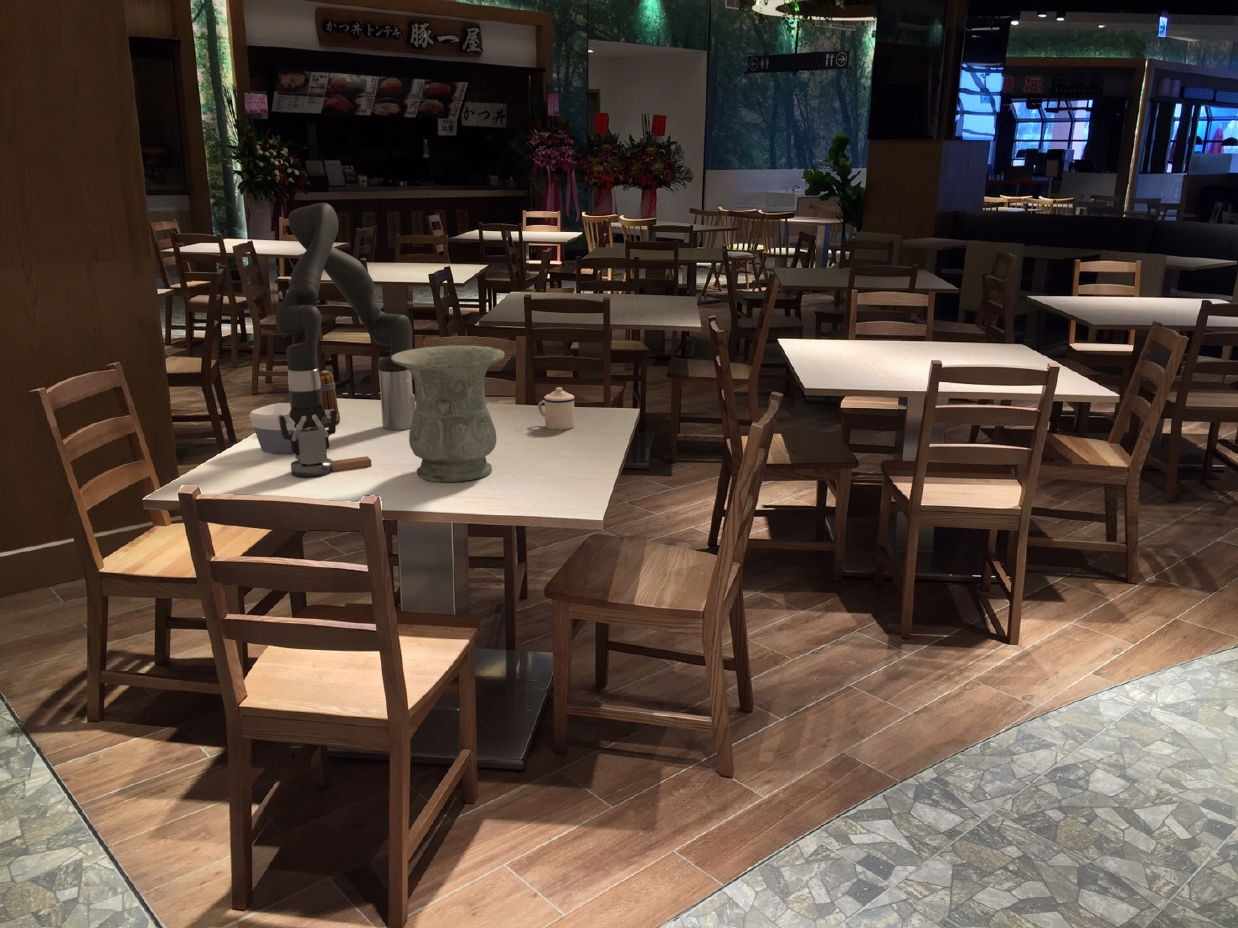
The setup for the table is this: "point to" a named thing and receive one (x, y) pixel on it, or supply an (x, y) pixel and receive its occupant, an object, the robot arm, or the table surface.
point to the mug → (328, 396)
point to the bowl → (272, 428)
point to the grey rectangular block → (311, 445)
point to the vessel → (451, 411)
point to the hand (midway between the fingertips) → (310, 452)
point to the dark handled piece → (327, 467)
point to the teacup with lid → (558, 410)
